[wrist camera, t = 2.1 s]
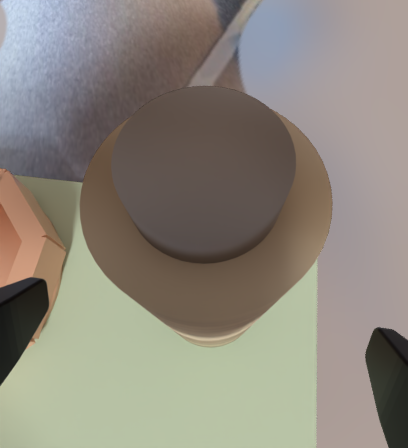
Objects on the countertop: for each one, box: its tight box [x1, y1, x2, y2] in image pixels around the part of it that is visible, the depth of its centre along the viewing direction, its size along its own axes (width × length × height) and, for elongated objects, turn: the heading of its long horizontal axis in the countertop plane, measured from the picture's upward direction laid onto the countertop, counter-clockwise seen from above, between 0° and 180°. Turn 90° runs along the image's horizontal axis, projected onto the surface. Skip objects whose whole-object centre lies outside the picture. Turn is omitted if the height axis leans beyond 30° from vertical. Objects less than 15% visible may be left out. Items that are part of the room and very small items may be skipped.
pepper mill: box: [80, 86, 332, 348], centre depth 12 cm, size 5×5×14 cm
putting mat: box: [0, 175, 317, 448], centre depth 18 cm, size 19×28×1 cm
